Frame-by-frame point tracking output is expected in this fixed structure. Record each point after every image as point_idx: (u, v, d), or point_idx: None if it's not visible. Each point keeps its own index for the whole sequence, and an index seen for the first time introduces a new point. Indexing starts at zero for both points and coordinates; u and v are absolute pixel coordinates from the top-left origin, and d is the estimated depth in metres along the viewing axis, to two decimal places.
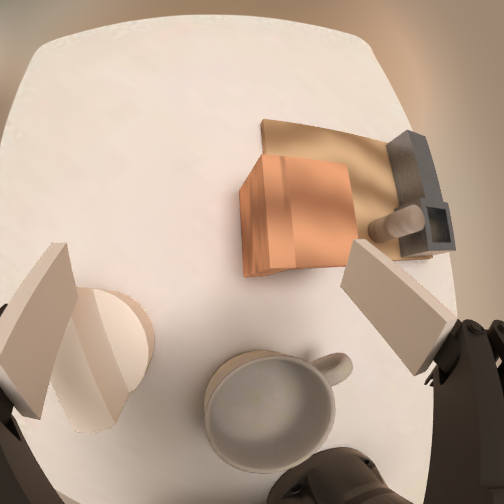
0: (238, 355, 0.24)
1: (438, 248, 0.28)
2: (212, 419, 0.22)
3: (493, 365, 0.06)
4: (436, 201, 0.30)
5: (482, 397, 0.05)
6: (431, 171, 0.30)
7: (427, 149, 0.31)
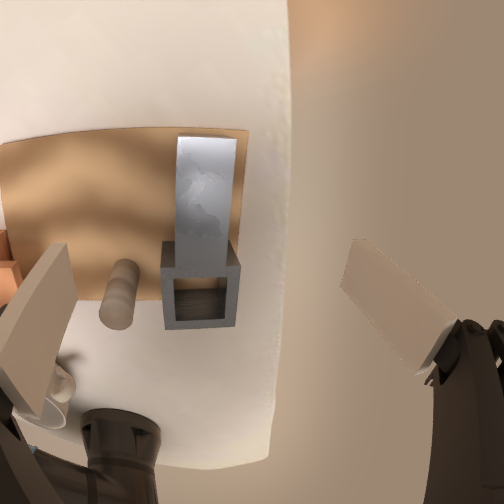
0: None
1: (188, 326, 0.24)
2: None
3: (493, 365, 0.06)
4: (205, 268, 0.22)
5: (482, 397, 0.05)
6: (214, 216, 0.20)
7: (226, 170, 0.19)
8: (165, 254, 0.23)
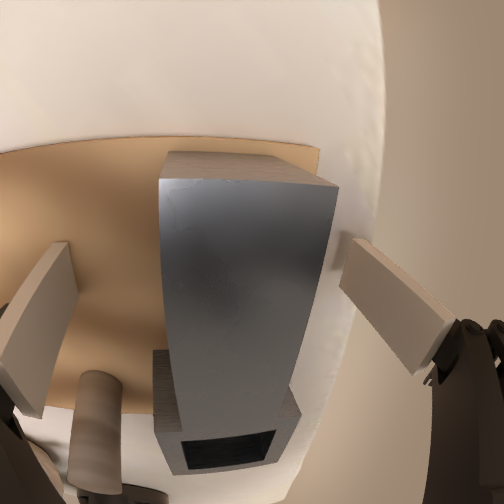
0: None
1: (208, 471, 0.12)
2: None
3: (492, 365, 0.06)
4: (238, 427, 0.10)
5: (481, 397, 0.05)
6: (263, 364, 0.08)
7: (303, 271, 0.07)
8: (160, 391, 0.11)
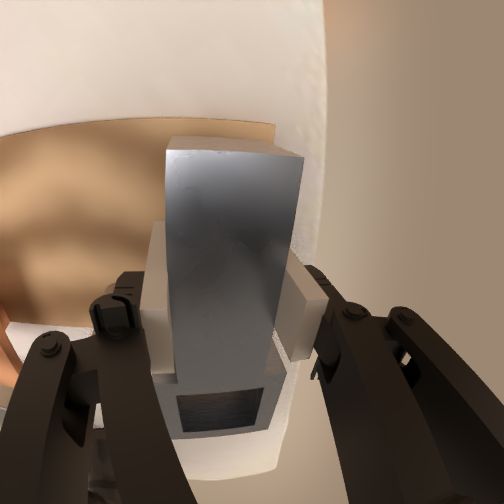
0: None
1: (202, 435, 0.14)
2: None
3: (389, 353, 0.07)
4: (228, 381, 0.12)
5: (382, 404, 0.05)
6: (248, 311, 0.10)
7: (277, 225, 0.09)
8: None
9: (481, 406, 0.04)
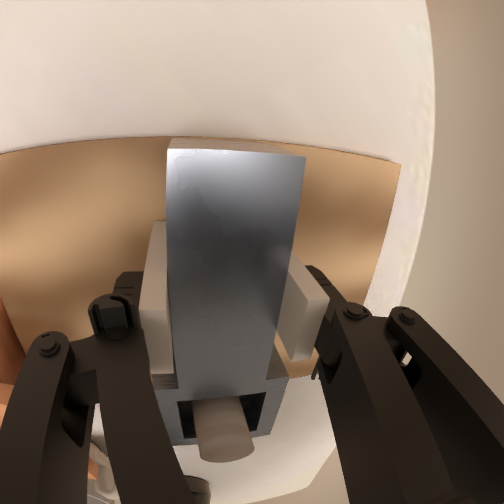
0: None
1: None
2: None
3: (390, 353, 0.07)
4: (230, 386, 0.12)
5: (383, 404, 0.05)
6: (250, 314, 0.10)
7: (280, 226, 0.09)
8: None
9: (482, 406, 0.04)
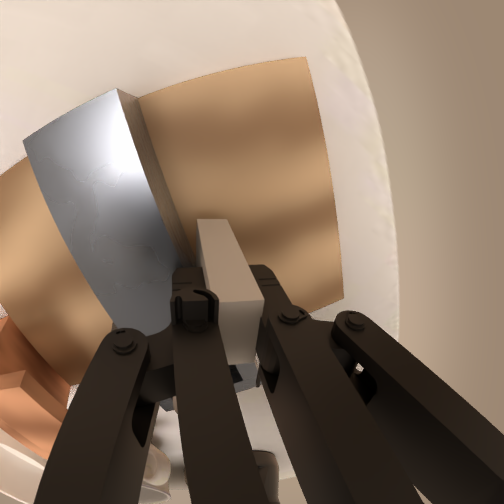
0: None
1: None
2: None
3: (333, 359, 0.06)
4: None
5: (329, 419, 0.05)
6: (141, 245, 0.10)
7: (120, 153, 0.08)
8: None
9: (452, 418, 0.04)
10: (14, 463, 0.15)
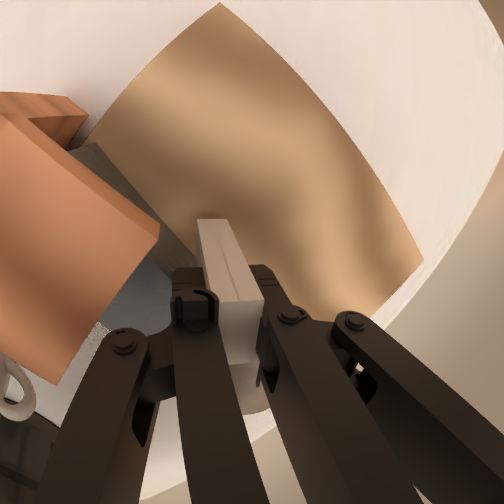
0: None
1: None
2: None
3: (333, 359, 0.06)
4: None
5: (329, 419, 0.05)
6: (136, 281, 0.10)
7: None
8: None
9: (452, 418, 0.04)
10: None
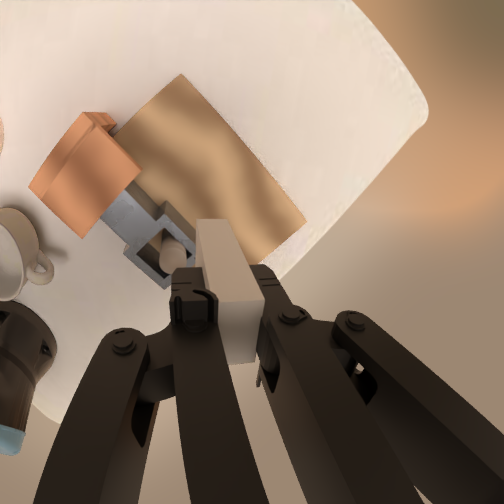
0: (14, 211, 0.25)
1: None
2: None
3: (334, 359, 0.06)
4: (145, 232, 0.27)
5: (329, 419, 0.05)
6: (120, 200, 0.25)
7: None
8: None
9: (452, 418, 0.04)
10: None
